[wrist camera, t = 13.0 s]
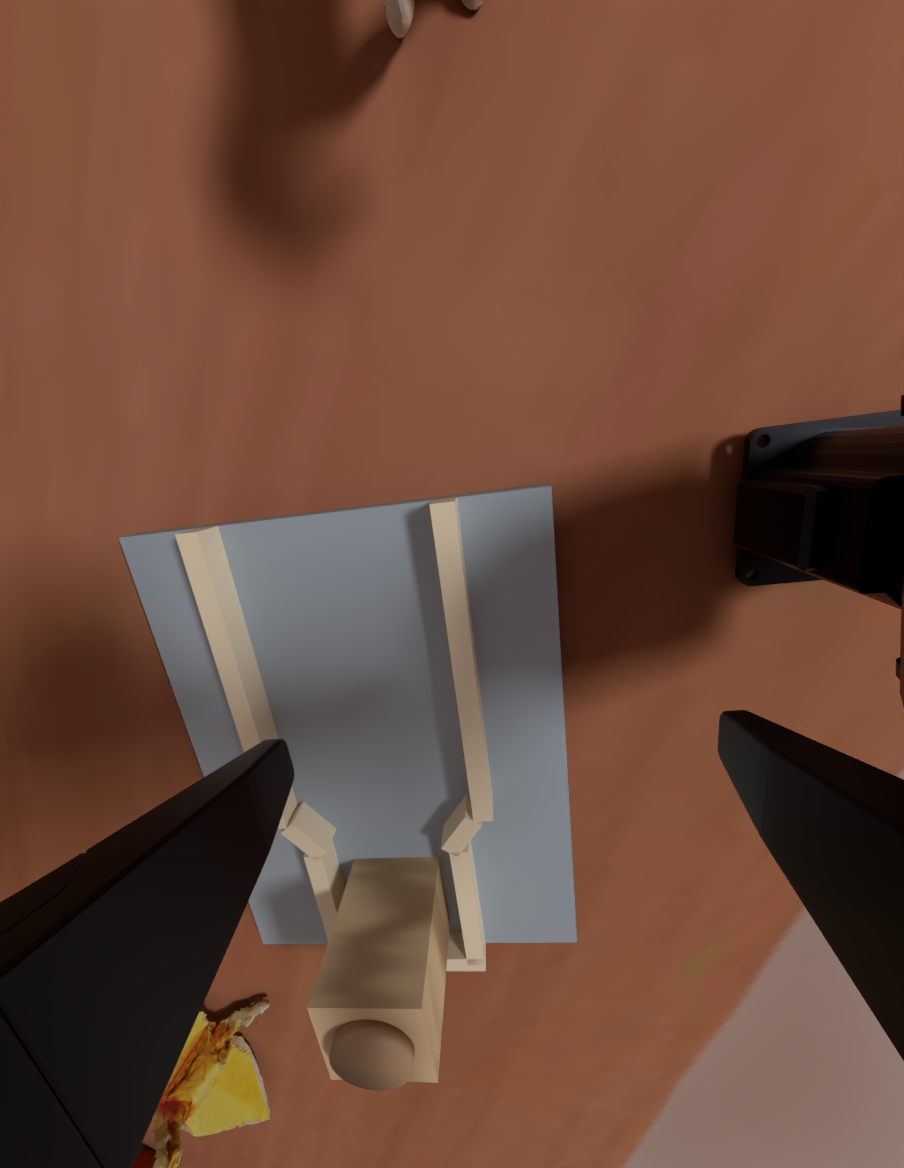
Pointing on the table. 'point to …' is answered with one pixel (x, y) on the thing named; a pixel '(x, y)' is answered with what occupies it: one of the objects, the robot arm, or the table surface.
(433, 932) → the stud block
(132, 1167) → the onion
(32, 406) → the table surface
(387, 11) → the unicorn figurine
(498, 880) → the keyhole board
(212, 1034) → the origami crane
